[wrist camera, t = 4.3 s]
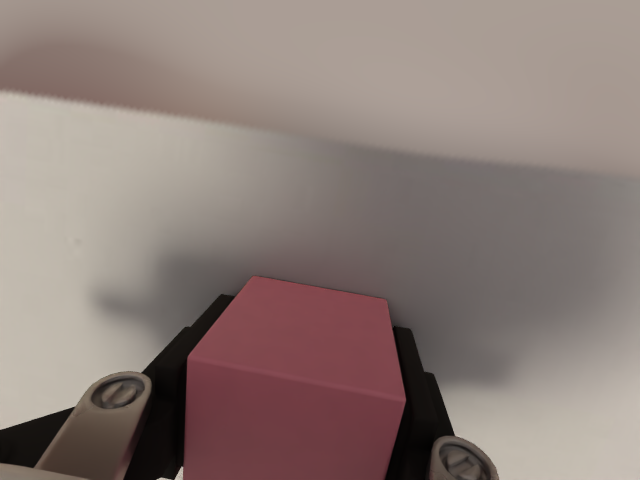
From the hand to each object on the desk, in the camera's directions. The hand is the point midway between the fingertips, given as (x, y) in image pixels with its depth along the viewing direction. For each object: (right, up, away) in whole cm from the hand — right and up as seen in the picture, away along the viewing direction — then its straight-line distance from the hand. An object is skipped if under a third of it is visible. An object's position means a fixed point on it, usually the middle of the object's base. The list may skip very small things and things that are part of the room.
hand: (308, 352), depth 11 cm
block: (0, 0, 0) cm, 0 cm away
